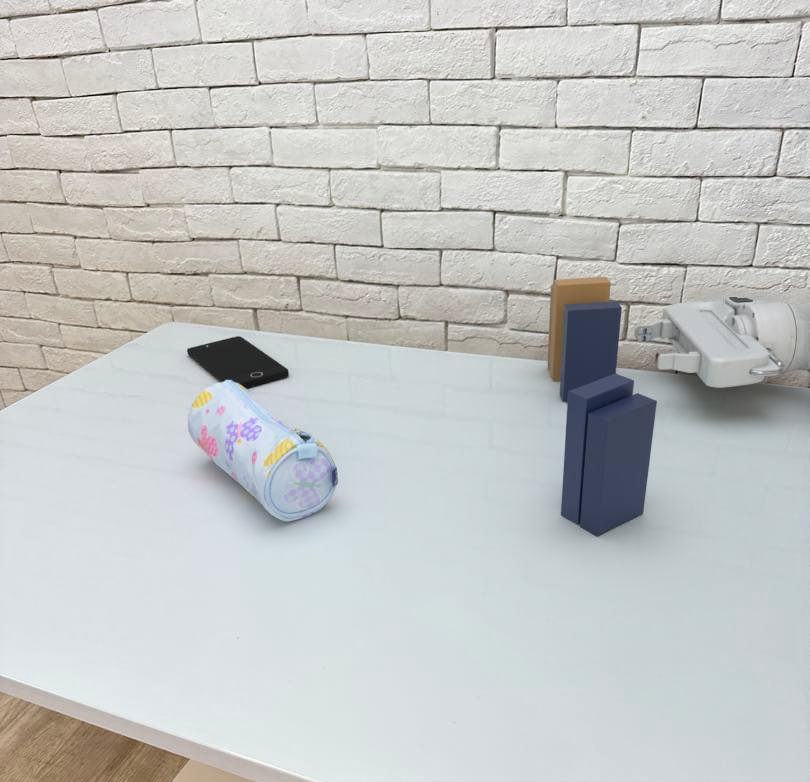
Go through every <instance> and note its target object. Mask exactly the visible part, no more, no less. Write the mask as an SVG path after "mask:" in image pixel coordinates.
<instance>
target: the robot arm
mask: <svg viewBox="0 0 810 782" xmlns="http://www.w3.org/2000/svg"><path fill="white" fill-rule="evenodd" d="M700 301H701V300H700ZM723 301H724V300H719V301H714V302H713V301H712V302H702V301H701V302H692V301H685V302H677V303H673V304H670V305H667V306H666V307H664V308H663V309H662V318H660V319H658V320H655V321H653V322H650V323H645V324H637V325H636V326H635V328H634V338H635V339H636V340H637V341H638V342H640V343H643V342H651V341H652V339H657V338H660V339H667V340H668V341H669V343H670V344H671V345H672V346H673V347H674V348H675V350H676V351H677V352H672V351H671V350H665V351H663V350H661V351H660V350H659V351H657V352H656V353H655V357H654V358H655V359H654V364H655V366H656V367H657V368H658V370H660V371H661V370H663V371H664V370H674V371H677V372H683V373H689V374H692V373H693V374H694V373H695V374H696V375H697V376H698V377H699V378H700V380H701V381H702V382H703V383H704V384H705V386H707V387H710V388H715V389H723V388H732V387H733V388H734V387H740V386H747V385H749V386H750V385H754V384H758V383H761V382H763V381H764V380H765V379H766V377H770V376H771V377H773V376H778V375H784V374H788V373H791V372H794V371H805V372H809V373H810V301H808V302H805V303H793V302H790V301H777V302H776V301H773V302H768V301H761V300H754V299H751V298H748V297H745V298H737V297H729V298H726V299H725V303H724V302H723Z"/></svg>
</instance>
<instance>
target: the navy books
mask: <svg viewBox="0 0 810 782" xmlns="http://www.w3.org/2000/svg"><path fill="white" fill-rule="evenodd" d="M634 387H635V379H631V378H629V377H627V376H623V375H621V374H618V373H617V372H616V373H615V374H612V375H610V376H607V377H605V378H602V379H599V380H597V381H594V382H592V383H589V384H586V385H584V386H581V387H579V388H576V389H573V390H571V391H568V402H566V405H567V406H566V419H565V421H566V422H565V438H564V452H563V453H564V454H563V469H562V471H563V473H562V487H561V488H562V490H561V507H560V515H561V516H562V517H564V518H565V519H567V520H569V521H571V522H573V523H575V524H576V525H579V527H580V528H582V529H583V530H585V531H587V532H588V533H590V534H592V535H594V536H595V537H599V536H602V535H604V534H605V533H606V534H607V532H609V531H611V530H612V531H613V530H614V529H615V528H619V526H622V525H623V524H625V523H627V522H630V521H632V520H634V519H635V518H638V517H639V516H641V515H643V514H644V510H645V502H646V493H647V485H648V479H649V471H650V461H651V453H652V444H653V436H654V429H655V420H656V413H657V404H658V401H657V400H656V399H653V398H651V397H649V396H646V395H643V394H640V393H634Z"/></svg>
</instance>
